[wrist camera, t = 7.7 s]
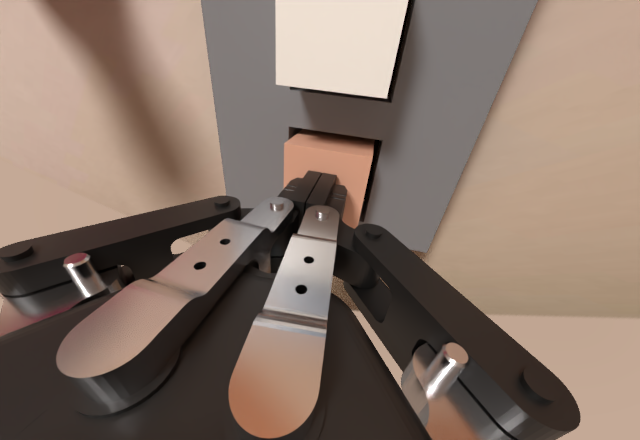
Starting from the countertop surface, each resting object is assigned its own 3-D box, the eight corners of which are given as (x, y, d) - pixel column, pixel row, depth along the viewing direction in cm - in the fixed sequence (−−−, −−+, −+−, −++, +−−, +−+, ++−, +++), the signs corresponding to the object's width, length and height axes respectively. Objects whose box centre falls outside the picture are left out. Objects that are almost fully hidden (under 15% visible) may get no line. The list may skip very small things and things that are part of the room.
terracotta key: (374, 138, 15) (372, 157, 11) (361, 201, 17) (356, 232, 14) (305, 127, 15) (284, 143, 12) (301, 190, 18) (283, 217, 14)
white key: (410, -28, 10) (425, -78, 7) (384, 91, 12) (386, 98, 9) (308, -34, 11) (274, -83, 7) (302, 81, 13) (275, 84, 10)
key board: (690, -460, 6) (894, -809, 4) (420, 228, 18) (426, 253, 16) (202, -390, 8) (122, -597, 6) (247, 195, 20) (228, 212, 17)
